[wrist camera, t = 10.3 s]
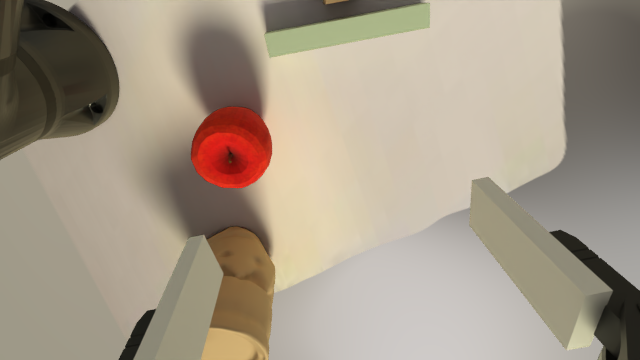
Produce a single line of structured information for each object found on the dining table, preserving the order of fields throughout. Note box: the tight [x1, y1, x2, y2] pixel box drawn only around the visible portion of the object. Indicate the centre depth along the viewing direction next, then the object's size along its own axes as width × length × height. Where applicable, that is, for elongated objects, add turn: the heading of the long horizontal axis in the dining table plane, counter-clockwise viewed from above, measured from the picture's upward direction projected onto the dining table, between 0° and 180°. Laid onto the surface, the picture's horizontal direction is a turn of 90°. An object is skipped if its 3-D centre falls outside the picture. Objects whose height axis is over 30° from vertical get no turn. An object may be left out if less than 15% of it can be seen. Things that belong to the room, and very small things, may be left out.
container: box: [201, 226, 275, 360], centre depth 45 cm, size 13×13×18 cm
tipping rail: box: [264, 3, 430, 57], centre depth 35 cm, size 18×2×3 cm, turn 99°
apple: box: [191, 107, 272, 188], centre depth 37 cm, size 9×9×11 cm
